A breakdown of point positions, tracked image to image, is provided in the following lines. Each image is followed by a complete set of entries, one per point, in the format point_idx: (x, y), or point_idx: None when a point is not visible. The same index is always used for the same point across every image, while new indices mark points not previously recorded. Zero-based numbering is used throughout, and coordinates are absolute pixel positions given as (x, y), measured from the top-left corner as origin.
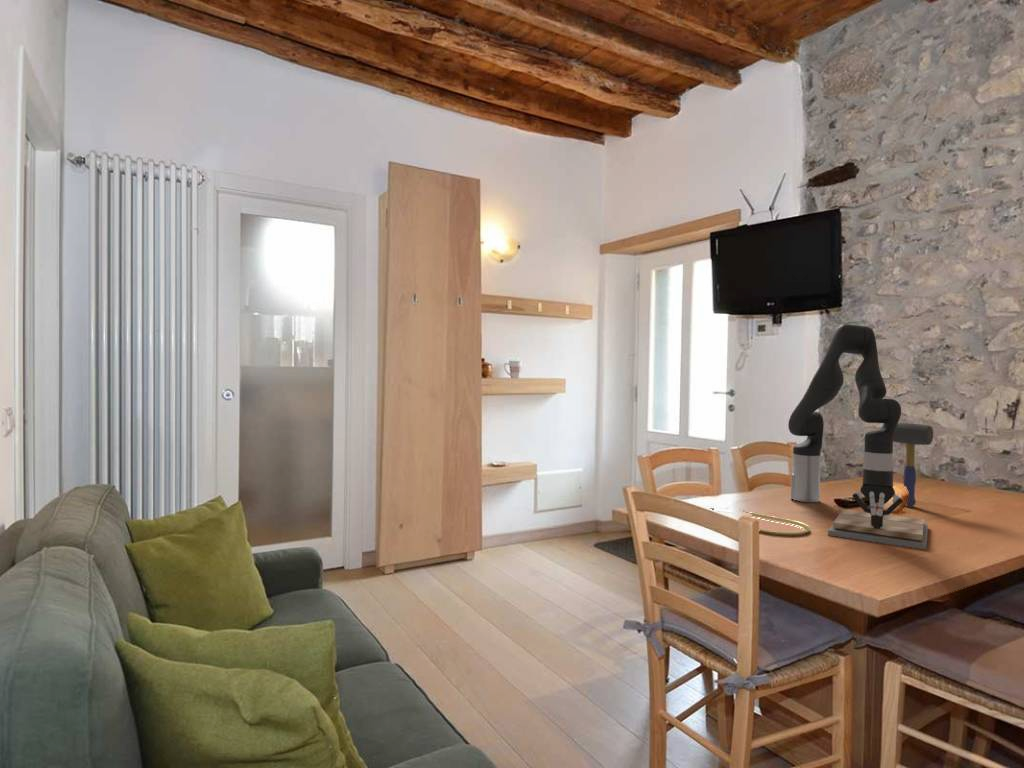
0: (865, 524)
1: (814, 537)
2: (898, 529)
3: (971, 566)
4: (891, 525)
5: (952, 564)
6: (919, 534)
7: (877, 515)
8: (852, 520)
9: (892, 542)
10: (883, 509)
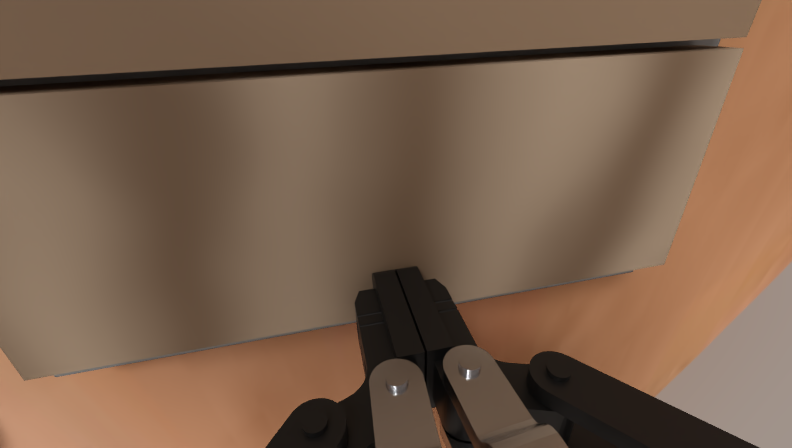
0: (280, 213)
1: (53, 433)
2: (547, 202)
3: (693, 349)
4: (508, 24)
5: (639, 370)
6: (650, 262)
7: (429, 381)
8: (60, 61)
9: None
10: (519, 411)
